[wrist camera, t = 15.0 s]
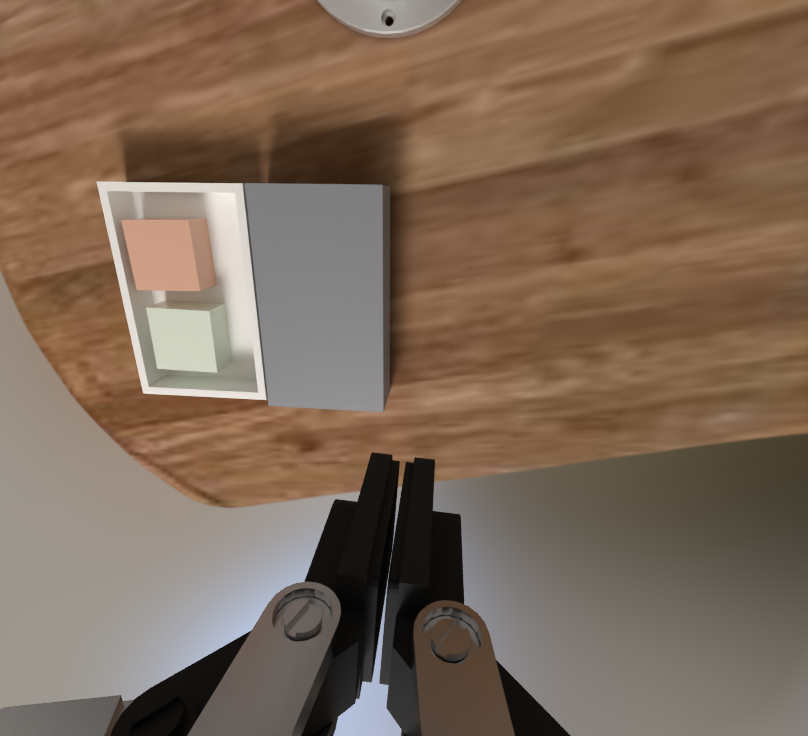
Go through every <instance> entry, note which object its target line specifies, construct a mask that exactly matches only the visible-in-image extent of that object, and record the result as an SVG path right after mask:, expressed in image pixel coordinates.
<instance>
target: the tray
mask: <svg viewBox="0 0 808 736" xmlns="http://www.w3.org/2000/svg"><path fill="white" fill-rule="evenodd" d="M97 185H98V190H99V194H100V199H101V203H102V208H103V212H104V217H105V222H106V226H107V231H108V235H109V240H110V244H111V249H112V253H113V258H114V262H115V267H116V272H117V276H118V281H119V285H120V290H121V294H122V299H123V303H124V308H125V312H126V317H127V322H128V326H129V331H130V335H131V340H132V344H133V349H134V353H135V358H136V362H137V367H138V372H139V376H140V381H141V385H142V390H143V393H146V394H165V395H184V396H202V397H221V398H240V399H258V400H267V399H268V393H267V384H266V375H265V366H264V357H263V347H262V338H261V329H260V320H259V310H258V301H257V292H256V283H255V274H254V264H253V255H252V246H251V237H250V227H249V218H248V209H247V200H246V191H245V184H244V183H164V182H97ZM142 218H206V219H207V225H208V232H209V238H210V245H211V251H212V258H213V264H214V270H215V277H216V283H217V285H215V286H213V287H210V288H208V289H205V290H202V291H158V290H136V285H135V280H134V276H133V271H132V267H131V262H130V258H129V253H128V249H127V244H126V240H125V235H124V231H123V226H122V222H121V220H127V219H142ZM165 300H167V301H185V302H203V303H222V304H225V308H226V317H227V325H228V334H229V342H230V351H231V359H232V362H231V363H230V364H228V365H227V366H226V367H224V368H223V369H222V370H220V371H219V372H218V373H213V372H198V371H183V370H168V369H157V364H156V359H155V353H154V348H153V343H152V337H151V332H150V326H149V321H148V315H147V310H146V307H149V306H152V305H155V304H157V303H160V302H163V301H165Z"/></svg>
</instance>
